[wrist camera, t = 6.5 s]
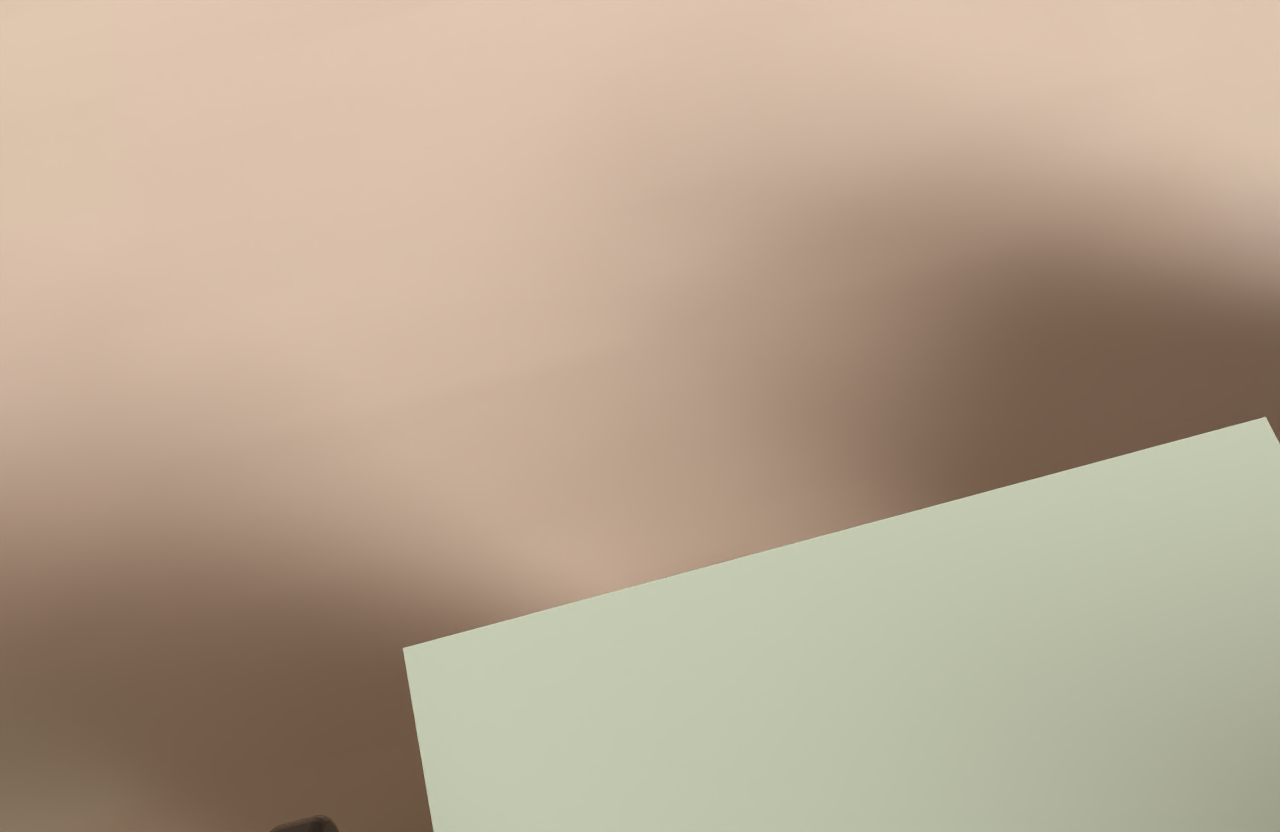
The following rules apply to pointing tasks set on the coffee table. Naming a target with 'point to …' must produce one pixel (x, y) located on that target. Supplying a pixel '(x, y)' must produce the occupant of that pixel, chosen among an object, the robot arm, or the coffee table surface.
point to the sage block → (903, 672)
